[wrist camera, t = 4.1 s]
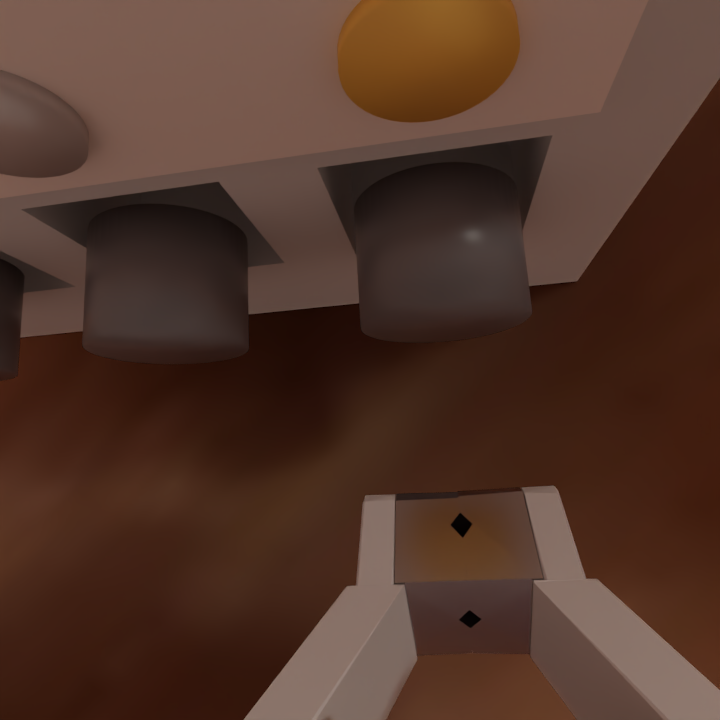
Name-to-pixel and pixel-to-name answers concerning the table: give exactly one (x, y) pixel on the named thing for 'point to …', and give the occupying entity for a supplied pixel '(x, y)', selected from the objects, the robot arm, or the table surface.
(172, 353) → the button
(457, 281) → the button
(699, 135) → the table surface
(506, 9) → the console
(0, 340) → the button
